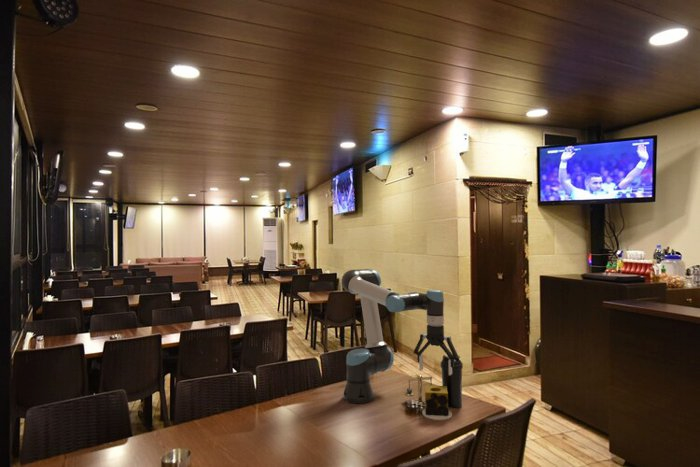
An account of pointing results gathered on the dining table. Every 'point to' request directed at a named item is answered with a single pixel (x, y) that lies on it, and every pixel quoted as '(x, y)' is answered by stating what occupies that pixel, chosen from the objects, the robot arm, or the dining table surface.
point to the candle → (436, 400)
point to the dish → (437, 416)
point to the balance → (419, 378)
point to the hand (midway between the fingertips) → (435, 372)
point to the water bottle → (452, 381)
